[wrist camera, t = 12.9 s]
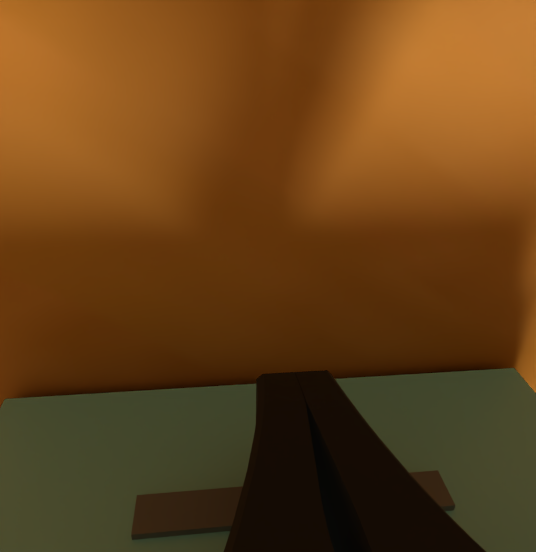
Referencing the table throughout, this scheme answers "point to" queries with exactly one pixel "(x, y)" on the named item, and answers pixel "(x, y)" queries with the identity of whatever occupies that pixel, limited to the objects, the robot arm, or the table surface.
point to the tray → (235, 457)
